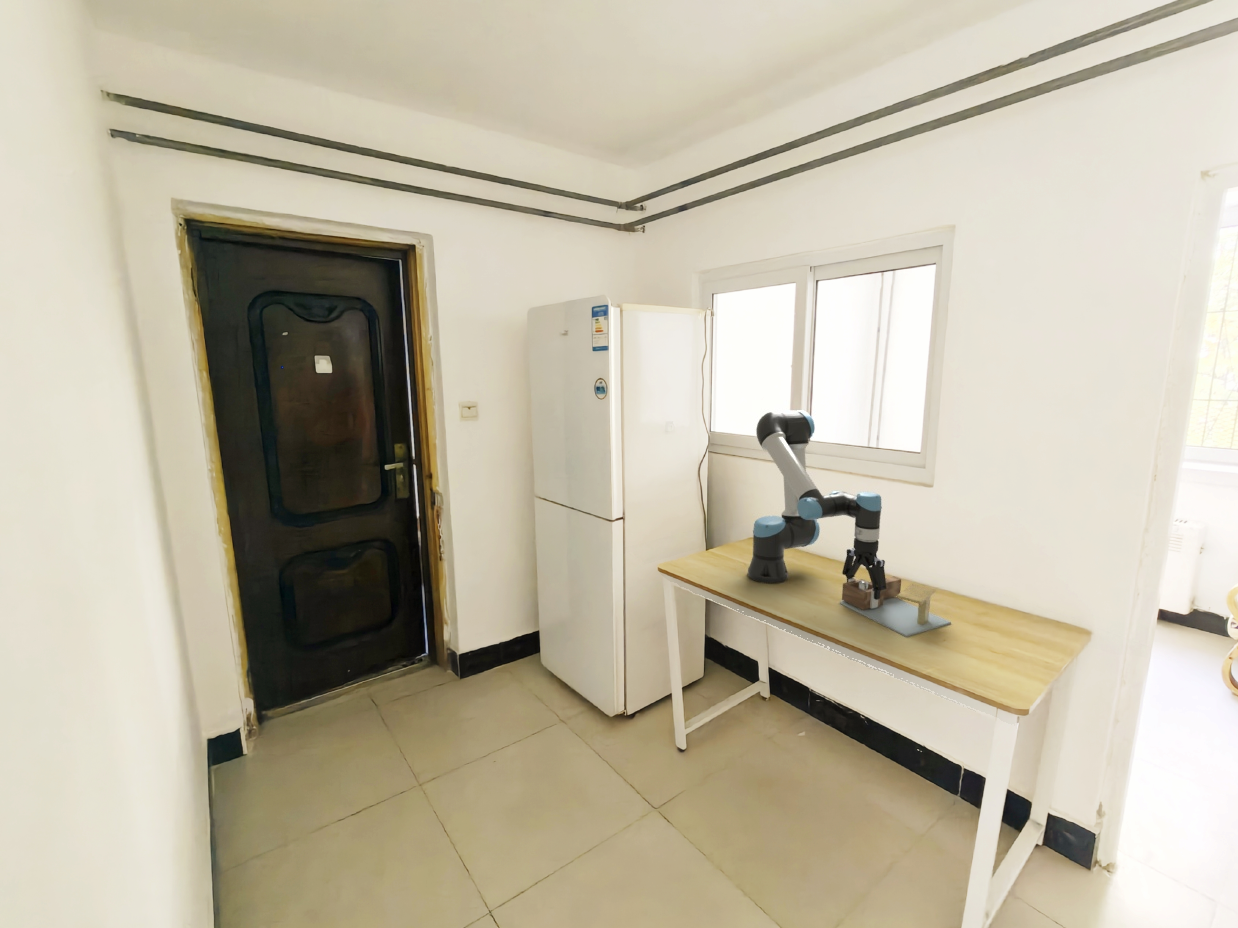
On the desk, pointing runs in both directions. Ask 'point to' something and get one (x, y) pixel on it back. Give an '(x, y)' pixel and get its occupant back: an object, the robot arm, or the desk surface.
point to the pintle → (863, 585)
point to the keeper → (918, 600)
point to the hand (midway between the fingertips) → (862, 601)
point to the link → (869, 592)
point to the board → (899, 616)
